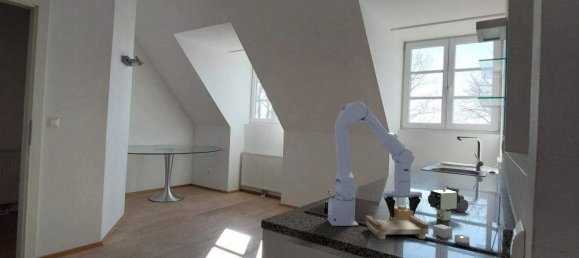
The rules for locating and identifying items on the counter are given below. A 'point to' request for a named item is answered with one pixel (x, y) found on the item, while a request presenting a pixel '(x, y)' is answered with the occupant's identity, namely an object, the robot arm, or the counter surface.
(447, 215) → the pneumatic valve
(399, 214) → the housing
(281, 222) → the counter surface
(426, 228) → the stand
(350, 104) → the robot arm
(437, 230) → the rubber block
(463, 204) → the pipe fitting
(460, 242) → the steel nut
